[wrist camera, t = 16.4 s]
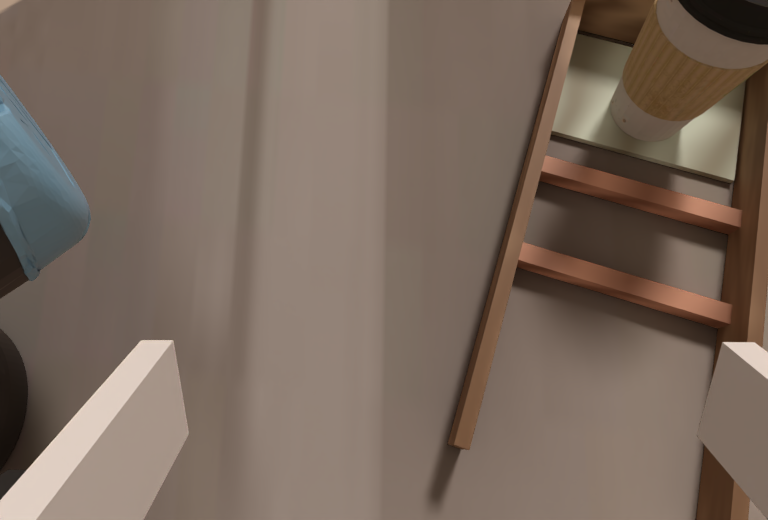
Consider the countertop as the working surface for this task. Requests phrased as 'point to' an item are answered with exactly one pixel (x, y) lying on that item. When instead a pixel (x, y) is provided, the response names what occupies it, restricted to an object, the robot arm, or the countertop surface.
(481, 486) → the countertop surface
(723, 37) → the coffee cup
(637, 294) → the wooden frame with crossbars
